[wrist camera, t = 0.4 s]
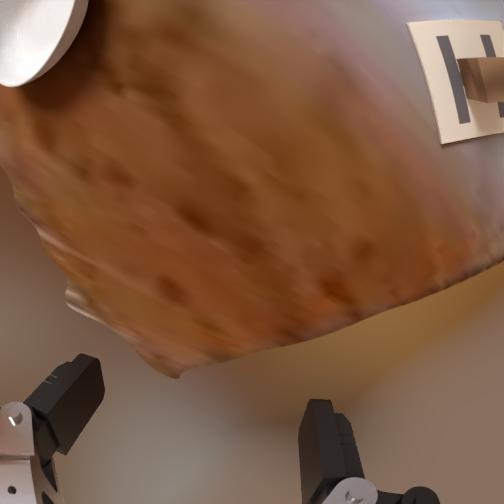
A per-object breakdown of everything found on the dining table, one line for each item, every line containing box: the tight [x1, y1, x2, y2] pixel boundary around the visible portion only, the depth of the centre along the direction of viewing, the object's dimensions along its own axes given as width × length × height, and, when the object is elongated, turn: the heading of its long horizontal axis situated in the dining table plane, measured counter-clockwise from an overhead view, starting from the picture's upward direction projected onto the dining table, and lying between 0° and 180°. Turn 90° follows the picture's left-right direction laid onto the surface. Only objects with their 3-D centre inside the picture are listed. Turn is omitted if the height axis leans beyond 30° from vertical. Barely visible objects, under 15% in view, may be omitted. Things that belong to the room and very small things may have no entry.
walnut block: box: [457, 57, 504, 103], centre depth 21 cm, size 5×5×5 cm
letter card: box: [406, 20, 504, 144], centre depth 23 cm, size 15×15×1 cm
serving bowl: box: [0, 0, 89, 87], centre depth 22 cm, size 21×21×7 cm
